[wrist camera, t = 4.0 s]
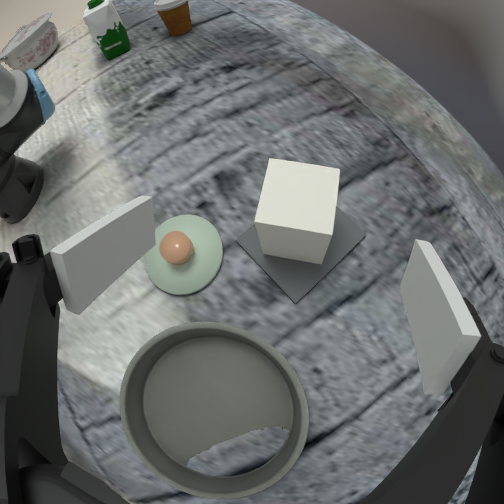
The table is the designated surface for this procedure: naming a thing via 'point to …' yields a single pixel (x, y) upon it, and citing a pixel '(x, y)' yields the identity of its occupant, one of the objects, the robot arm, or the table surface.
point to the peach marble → (176, 248)
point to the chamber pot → (31, 45)
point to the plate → (197, 267)
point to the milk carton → (106, 28)
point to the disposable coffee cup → (174, 15)
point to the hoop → (210, 404)
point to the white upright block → (297, 210)
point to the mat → (300, 272)
